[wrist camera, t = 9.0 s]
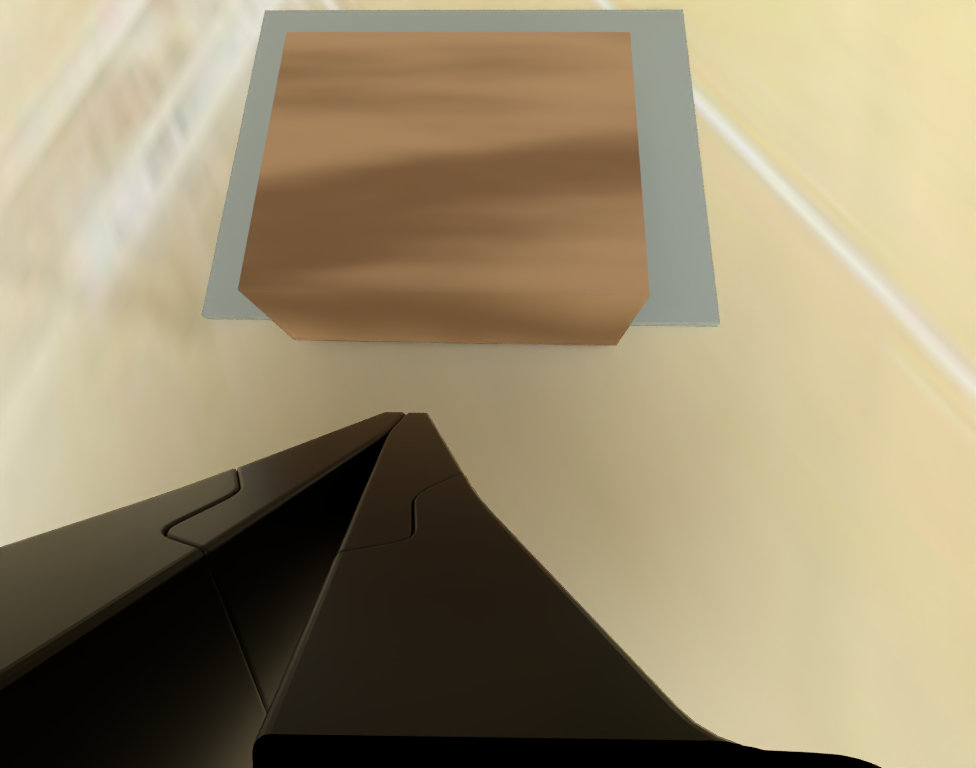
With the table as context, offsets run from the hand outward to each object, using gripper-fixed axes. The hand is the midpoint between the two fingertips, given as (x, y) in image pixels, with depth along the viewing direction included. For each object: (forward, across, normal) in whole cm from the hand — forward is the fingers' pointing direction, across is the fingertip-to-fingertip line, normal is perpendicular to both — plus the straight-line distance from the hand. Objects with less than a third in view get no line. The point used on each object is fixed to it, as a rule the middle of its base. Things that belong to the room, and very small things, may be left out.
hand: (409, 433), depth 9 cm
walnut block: (+7, 0, 0) cm, 7 cm away
